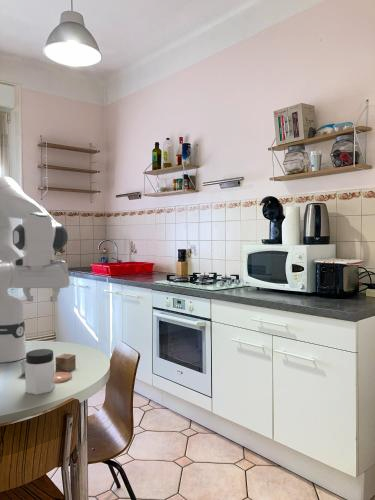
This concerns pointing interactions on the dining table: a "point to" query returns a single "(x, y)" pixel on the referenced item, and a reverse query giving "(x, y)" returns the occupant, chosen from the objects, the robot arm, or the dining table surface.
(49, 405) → the dining table surface
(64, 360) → the walnut block
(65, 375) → the pink glossy round part
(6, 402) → the dining table surface
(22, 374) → the tin
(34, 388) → the jar
